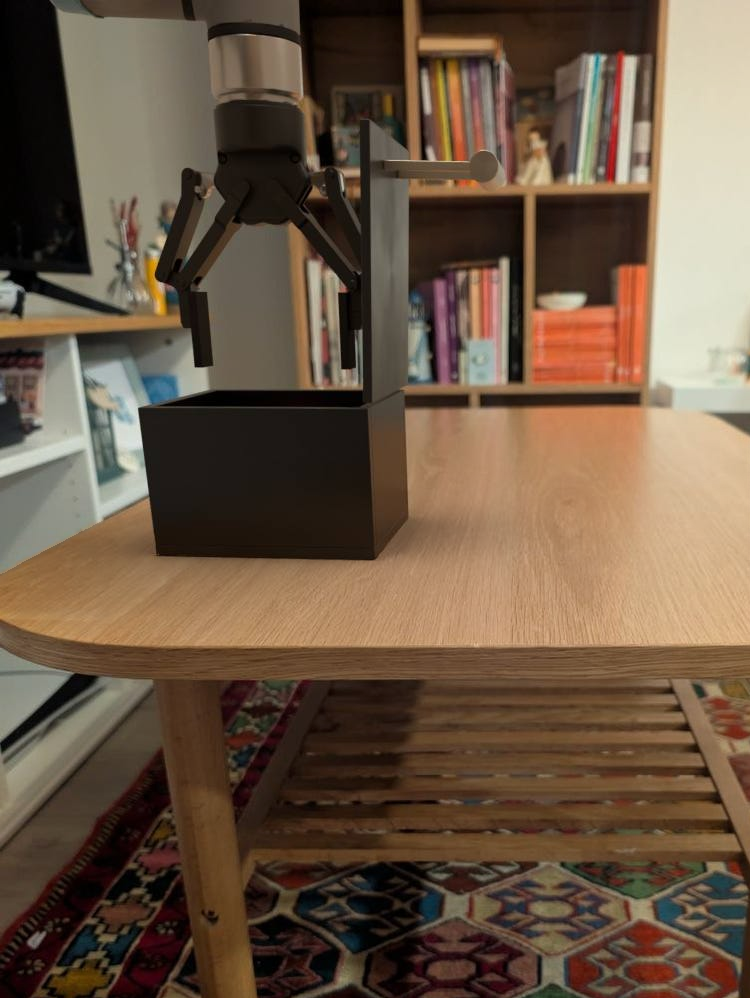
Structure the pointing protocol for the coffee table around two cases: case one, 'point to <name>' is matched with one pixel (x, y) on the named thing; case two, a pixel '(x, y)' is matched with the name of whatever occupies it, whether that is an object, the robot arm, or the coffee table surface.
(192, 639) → the coffee table surface
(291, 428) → the open black box
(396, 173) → the box lid
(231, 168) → the robot arm
